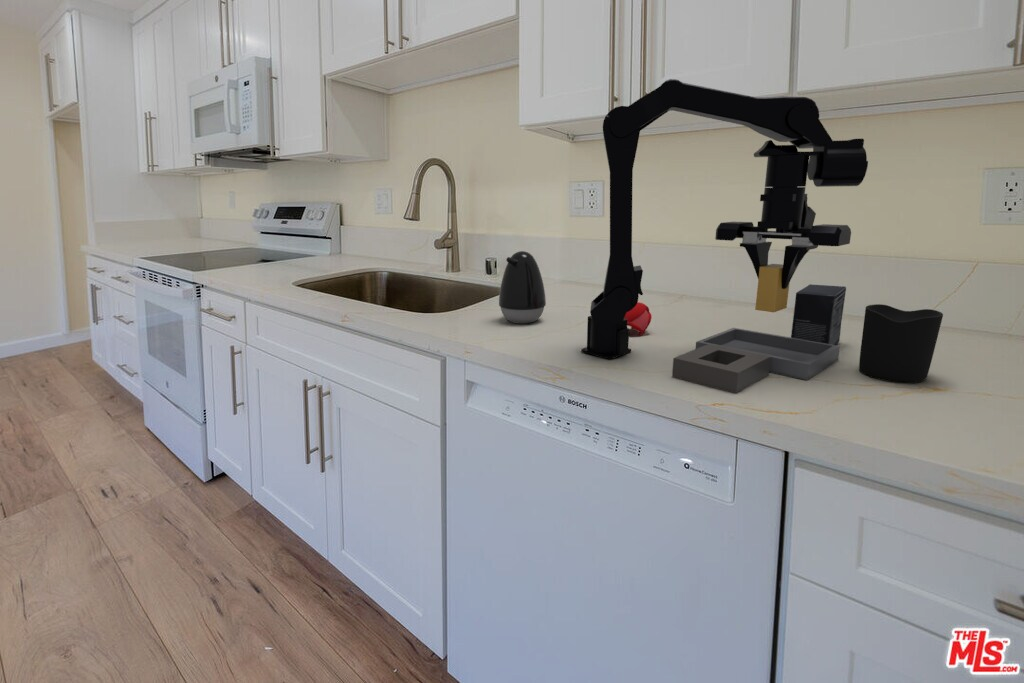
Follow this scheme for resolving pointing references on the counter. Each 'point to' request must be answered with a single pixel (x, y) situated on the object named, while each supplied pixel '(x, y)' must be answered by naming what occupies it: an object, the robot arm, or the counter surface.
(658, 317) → the counter surface
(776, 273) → the block
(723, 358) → the gray square frame
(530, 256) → the pump dispenser
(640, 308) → the cap
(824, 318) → the small box
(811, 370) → the parts tray
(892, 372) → the pen holder
